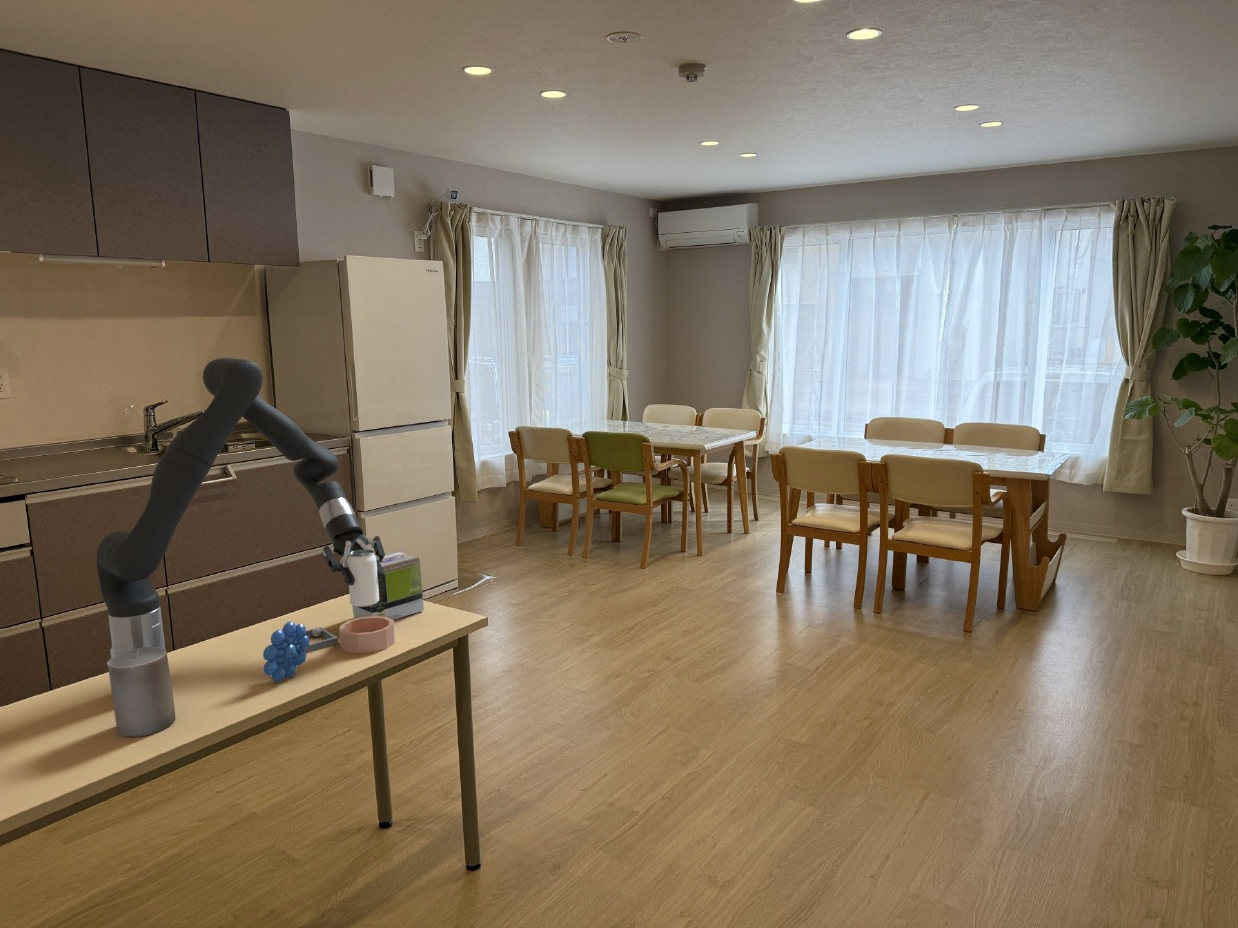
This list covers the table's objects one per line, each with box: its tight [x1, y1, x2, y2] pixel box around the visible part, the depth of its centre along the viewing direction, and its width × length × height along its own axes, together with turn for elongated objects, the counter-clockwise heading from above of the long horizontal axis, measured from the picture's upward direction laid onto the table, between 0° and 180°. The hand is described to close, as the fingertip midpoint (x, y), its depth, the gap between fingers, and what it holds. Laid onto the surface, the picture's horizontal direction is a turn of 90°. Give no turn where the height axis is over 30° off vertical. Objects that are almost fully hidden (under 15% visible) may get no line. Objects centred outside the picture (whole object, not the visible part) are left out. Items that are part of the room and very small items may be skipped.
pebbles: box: [312, 627, 322, 638], centre depth 197 cm, size 9×9×2 cm
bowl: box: [339, 616, 396, 655], centre depth 196 cm, size 12×12×4 cm
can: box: [347, 549, 379, 607], centre depth 194 cm, size 6×6×12 cm
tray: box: [302, 626, 339, 654], centre depth 197 cm, size 10×10×2 cm
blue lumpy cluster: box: [262, 620, 311, 683], centre depth 178 cm, size 12×7×12 cm, turn 151°
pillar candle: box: [106, 647, 176, 738], centre depth 156 cm, size 10×10×15 cm
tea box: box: [351, 551, 425, 621], centre depth 215 cm, size 15×10×15 cm, turn 136°
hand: (366, 579), depth 193 cm, fingers closed on can, 6 cm apart
